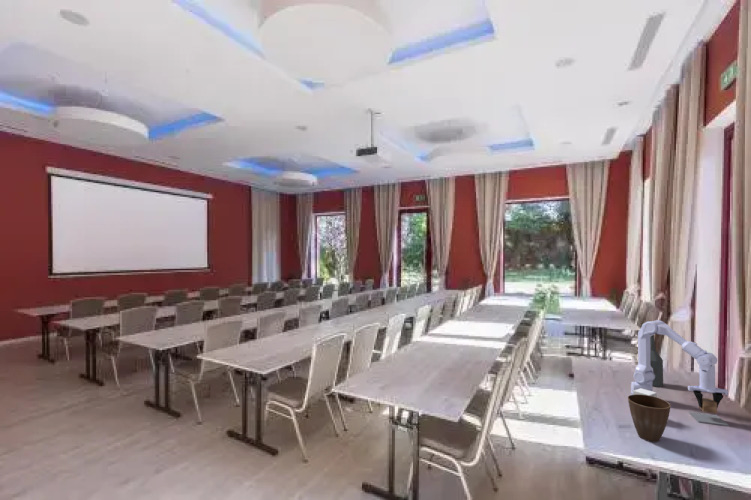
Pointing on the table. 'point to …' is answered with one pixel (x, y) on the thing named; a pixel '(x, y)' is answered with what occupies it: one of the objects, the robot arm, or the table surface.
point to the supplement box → (645, 392)
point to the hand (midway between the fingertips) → (707, 407)
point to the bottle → (656, 364)
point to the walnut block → (708, 405)
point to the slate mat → (708, 419)
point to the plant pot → (649, 416)
